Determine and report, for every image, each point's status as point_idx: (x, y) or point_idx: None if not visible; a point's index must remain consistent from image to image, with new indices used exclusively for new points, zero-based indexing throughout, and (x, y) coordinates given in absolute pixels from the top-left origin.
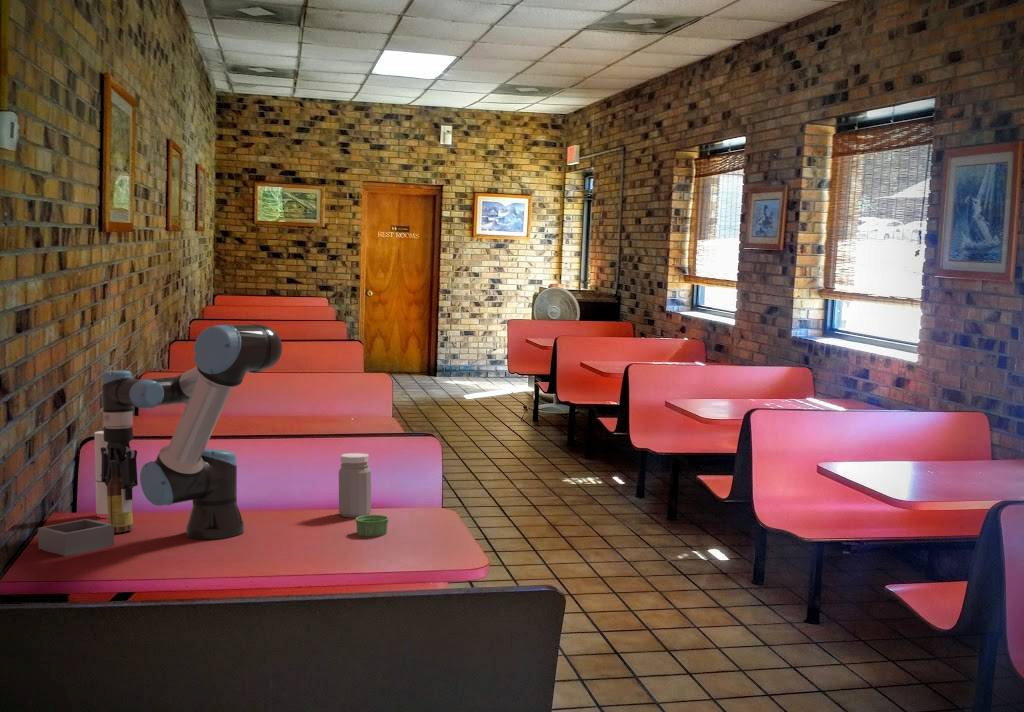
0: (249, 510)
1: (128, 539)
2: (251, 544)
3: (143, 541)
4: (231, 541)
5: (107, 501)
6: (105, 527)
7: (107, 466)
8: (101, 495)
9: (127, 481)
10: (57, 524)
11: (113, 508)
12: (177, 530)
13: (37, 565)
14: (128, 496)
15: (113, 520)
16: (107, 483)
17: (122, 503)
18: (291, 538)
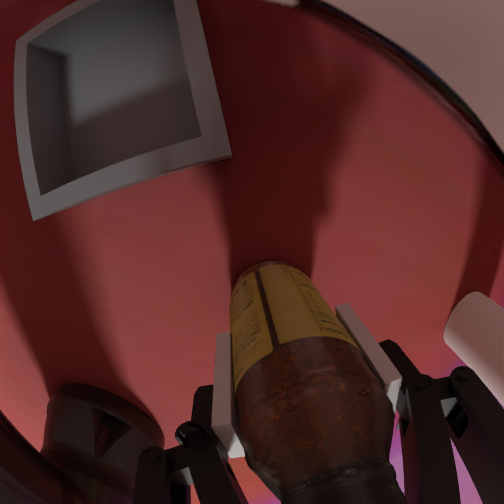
0: (273, 494)
1: (133, 272)
2: (14, 403)
3: (86, 295)
4: (35, 402)
5: (362, 322)
6: (27, 184)
7: (486, 465)
8: (501, 329)
9: (159, 477)
10: (191, 13)
11: (254, 313)
12: (176, 402)
13: (35, 8)
14: (194, 405)
15: (251, 284)
16: (410, 390)
17: (222, 360)
18: (40, 443)
